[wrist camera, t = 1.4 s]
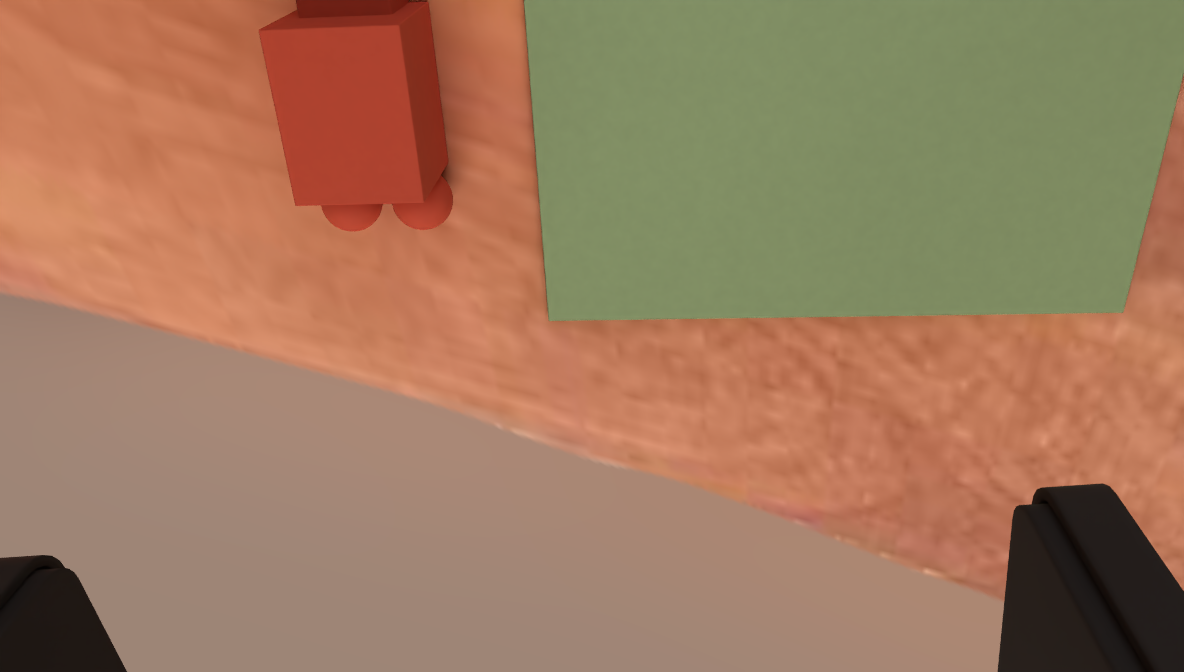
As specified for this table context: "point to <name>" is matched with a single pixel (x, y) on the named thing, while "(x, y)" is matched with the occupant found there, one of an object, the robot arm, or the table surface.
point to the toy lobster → (360, 110)
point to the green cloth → (847, 154)
